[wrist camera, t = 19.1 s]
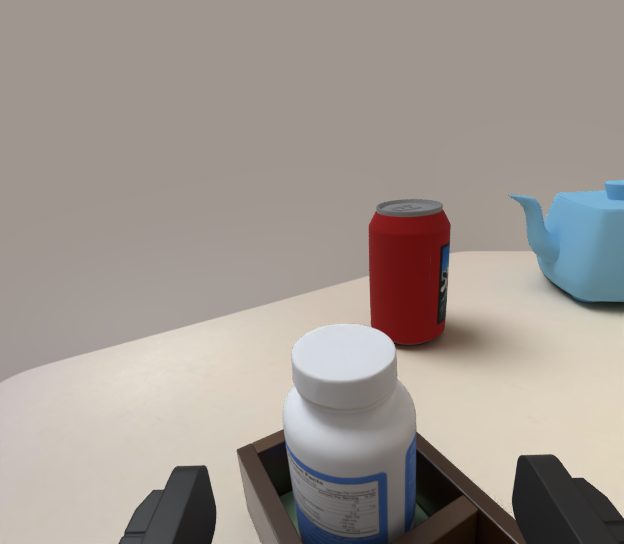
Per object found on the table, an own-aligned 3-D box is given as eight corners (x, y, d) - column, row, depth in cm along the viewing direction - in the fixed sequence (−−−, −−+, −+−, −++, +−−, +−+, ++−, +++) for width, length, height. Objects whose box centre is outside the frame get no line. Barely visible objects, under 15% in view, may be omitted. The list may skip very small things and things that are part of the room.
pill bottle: (358, 459, 21) (352, 302, 18) (439, 533, 17) (451, 348, 14) (275, 519, 18) (248, 345, 15) (348, 625, 14) (334, 418, 11)
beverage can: (461, 338, 34) (470, 205, 30) (397, 359, 32) (397, 217, 27) (414, 309, 40) (417, 195, 35) (358, 325, 37) (353, 204, 33)
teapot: (484, 269, 49) (492, 178, 45) (642, 267, 46) (666, 169, 42) (517, 312, 37) (532, 196, 33) (731, 314, 34) (776, 185, 30)
